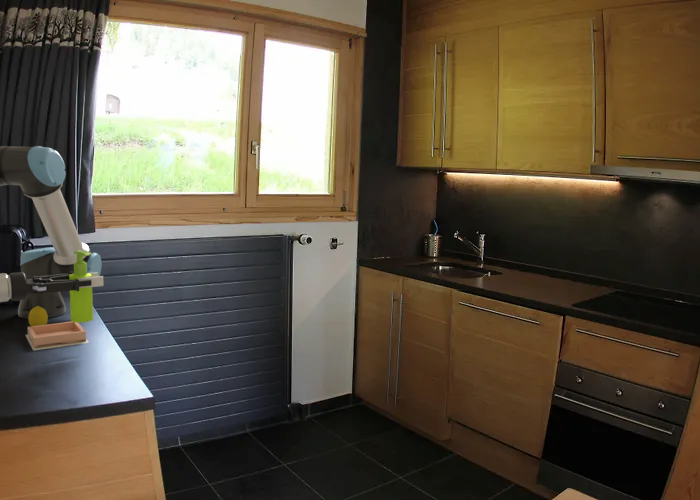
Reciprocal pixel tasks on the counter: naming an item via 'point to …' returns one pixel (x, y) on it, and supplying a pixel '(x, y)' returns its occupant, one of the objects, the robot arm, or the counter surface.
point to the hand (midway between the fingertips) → (100, 279)
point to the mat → (55, 345)
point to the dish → (56, 334)
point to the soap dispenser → (81, 292)
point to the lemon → (38, 316)
